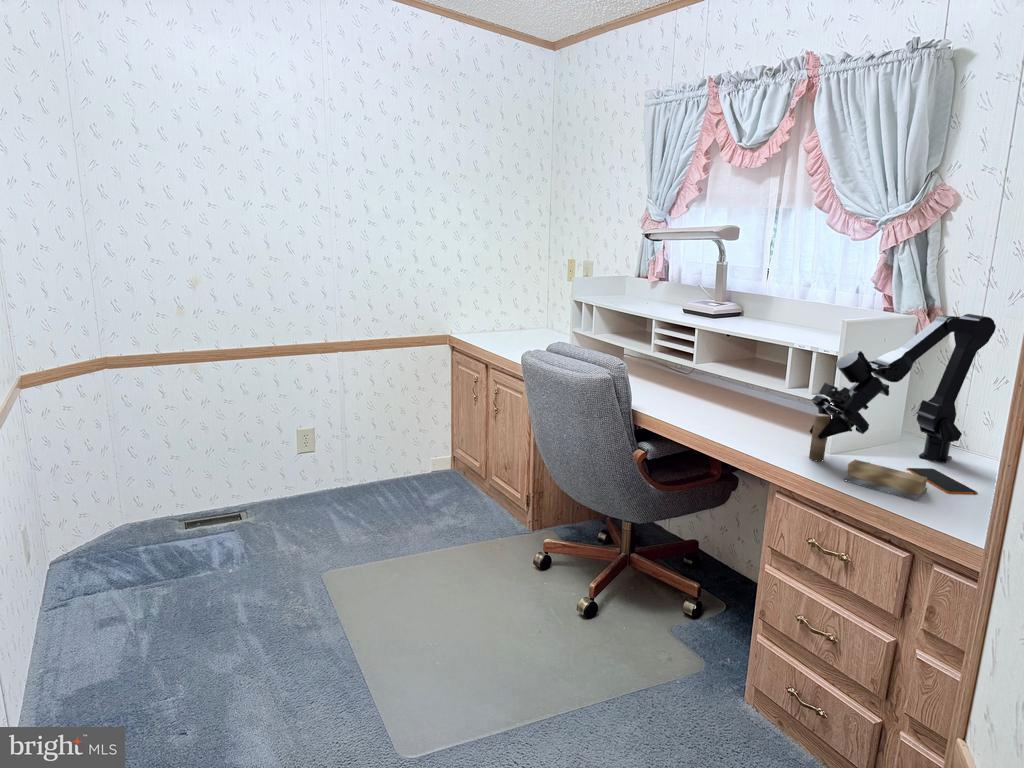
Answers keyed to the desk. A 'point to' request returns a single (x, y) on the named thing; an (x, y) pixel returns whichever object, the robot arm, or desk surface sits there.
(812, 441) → the walnut dowel
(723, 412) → the desk surface
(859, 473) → the oak ridge
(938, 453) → the robot arm
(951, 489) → the smartphone
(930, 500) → the desk surface
